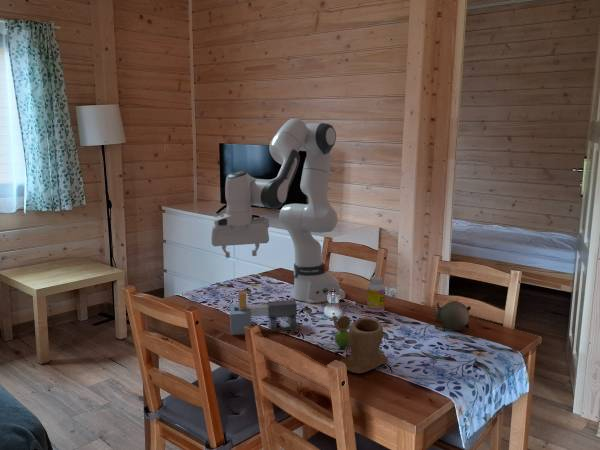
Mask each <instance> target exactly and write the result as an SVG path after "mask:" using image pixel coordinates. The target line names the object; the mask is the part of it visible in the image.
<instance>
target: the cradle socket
mask: <svg viewBox="0 0 600 450" xmlns="http://www.w3.org/2000/svg"><path fill="white" fill-rule="evenodd" d="M238 306H239V303H238V304H237V303H236V304H229V317H230V318H229V320H230V335H231V336H235V335H245V334H244V326H251V327H252V316H251V311H250V310H245V311H239V310H238ZM246 306H250V303H246Z"/></svg>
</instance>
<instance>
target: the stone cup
mask: <svg viewBox="0 0 600 450" xmlns="http://www.w3.org/2000/svg"><path fill="white" fill-rule="evenodd" d="M349 326H350V327H349V329H348V332H349V344H348V346H349V348H350V353H351V354H349V355H348V356H345V357H344V358H342V359H341V360H340V361H342V362H344V363H345V364H346V366H347V370H346V371H348V372H350V373H356V374H362V373H366V372H369V371H371V370H373V369H376V368H377V367H379V366H381V365H384V364H386V363H387V362H388V361H389V359H388V357H387V356H386V355H385V353H383V351H382V349H381V348H380V346H381V344H382V341H383V338H384V329H383V326H382V323H381V322H380V321H378V320H377V319H375V318H372V317H371V318H370V317H361V318H358V319H356V320H355V321H353V322H352V323H350V325H349Z"/></svg>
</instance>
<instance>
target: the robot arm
mask: <svg viewBox="0 0 600 450" xmlns="http://www.w3.org/2000/svg"><path fill="white" fill-rule="evenodd" d="M336 140H337V133H336V129H335V128H334V126H333V125H332V124H330V123H325V122H321V123H318V122H308V123H305V122H304V121H303V120H301V119H299V118H290V119H288V120H287V121H286V122H285V123H284V124H282V126H281V127H280V128H279V129H278V130H277V132H276V133H275V134H274V136H273V137H272V139H271V140H270V143H269V147H268V149H269V153H270V155H271V157H272V159H273V160H274V161H275V162H276V163H278V164H279V165H281V167H280V169H279V171H278V173H277V176H276V177H274V178H272V179H264V178H256V177H253V176H251V175H250V174H249V173H248V172H247V171H245V170H238V171H233V172H230V173H229V174H227V175H226V179H225V187H224V191H225V201H226V209H225V212H226V213H223V214H221V215H218V216H216V217H214V219H213V226H212V229H211V245H212V246H213V247H221V250H222V251H223V252H224V255H225V258H226V259H227V258H228V259H229V258H231V253H230V251H227V250H226V249H227V246H241V245H242V246H243V245H244V246H245V245H254V246H255V248H254V249H252V250H251V255H252V257H257V256H258V255H257V254H258V250H259V248H260V244H268V243H269V241H270V236H269V235H270V234H269V227H270V220H269V219H268V218H266V217H265V216H264V217H263V216H261V217H257V216H256V217H253V210H252V207H251V206H256V207H264V208H269V209H274V210H277V209H279V208H281V207H282V208H281V209H280V211H279V214H278V215H279V217H278V219H279V223H280V224H281V226H282V227H283V228H284V229H285V230H286V231H287V232H288V234H289V236H290V238H291V241H292V243H293V244H292V245H293V248H294V264H293V276H294V277H293V278H294V282H293V283H294V284H293V288H292V293H291V298H292V299H293V300H295V301H296V300H297V301H300V302H305V303H309V304H317V303H326V302H328V301H327V295H328V292H329V291H332V289H333V287H335V291H336V293H337V294H339V295H340V298H341V300H344V299H345V298H346V293H345V291H344V290H343V289H341V288H340V286H341V285H340V283H339V281H338V280H337V279H336V277H334V276H333V275H331V274H330V273H328V272H329V270H330V268H329V265H326V264H325V263H323V262H322V246H321V244H320V242H319V241H318V240H316V239H315V238H314V237H313V234H312V233H317V234H318V233H321V234H322V233H330V232H332V231H334V229H336V227H337V225H338V220H339V219H338V214H337V212H336V209H334V208H333V207H332V205H331V204H330V201H329V198H328V185H329V179H330V178H329V177H330V171H331V150H333V147H334V145H335V144H336ZM300 151H301V152H306V157H305V160H304V162H303V168H302V173H301V179H300V184H299V186H300V190H301V192H302V193H303V195H305V196H307V198H308V204H306V203H305V204H304V203H289V204H285V203H286V201H287V198H288V194H289V190H290V187H291V184H292V182H293V180H294V178H295V175H296V173H297V170H298V168H299V164H300V162H301V161H300V160H301V158H300V153H299V152H300ZM284 204H285V205H284Z"/></svg>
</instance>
